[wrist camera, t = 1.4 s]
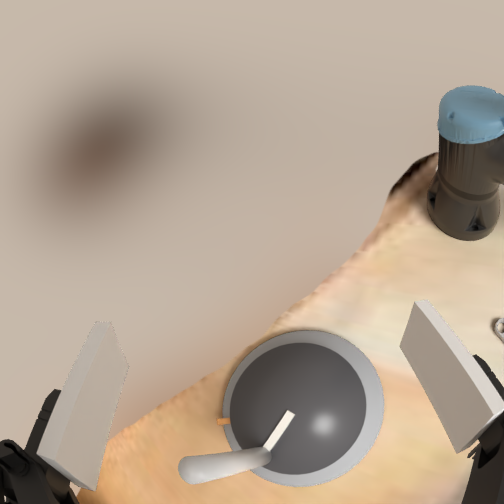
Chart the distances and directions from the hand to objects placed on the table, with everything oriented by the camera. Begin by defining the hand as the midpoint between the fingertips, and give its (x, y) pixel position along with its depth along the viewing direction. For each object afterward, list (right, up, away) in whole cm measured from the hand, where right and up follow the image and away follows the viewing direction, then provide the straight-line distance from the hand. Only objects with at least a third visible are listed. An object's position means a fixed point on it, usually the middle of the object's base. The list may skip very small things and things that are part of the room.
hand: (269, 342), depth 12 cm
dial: (+6, -19, +26) cm, 33 cm away
